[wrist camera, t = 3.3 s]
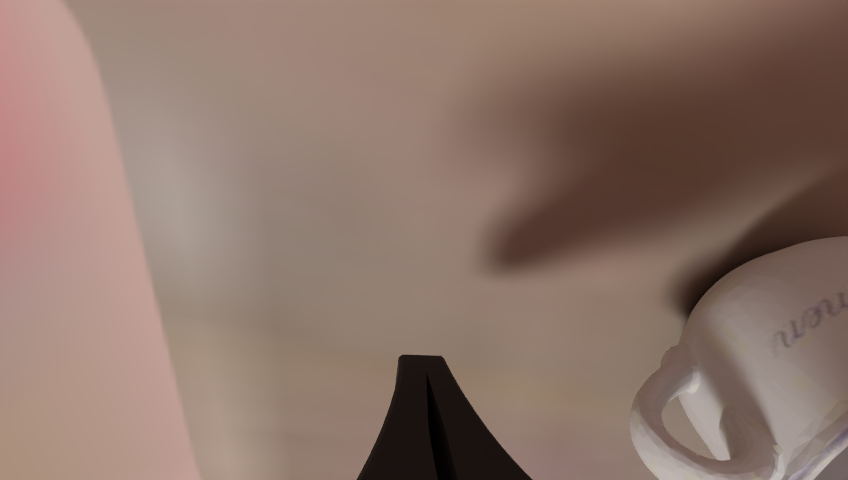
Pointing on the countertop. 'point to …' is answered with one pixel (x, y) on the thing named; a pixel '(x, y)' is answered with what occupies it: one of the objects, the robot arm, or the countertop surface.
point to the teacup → (758, 374)
